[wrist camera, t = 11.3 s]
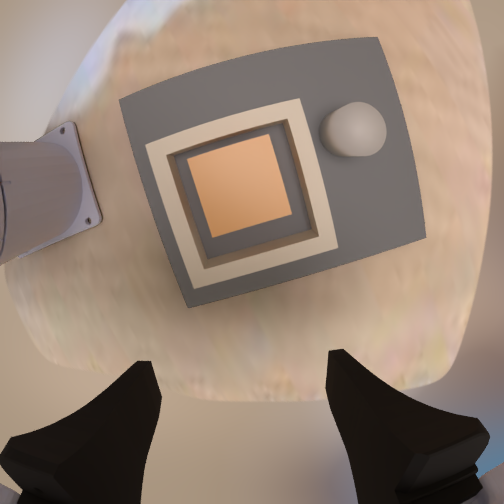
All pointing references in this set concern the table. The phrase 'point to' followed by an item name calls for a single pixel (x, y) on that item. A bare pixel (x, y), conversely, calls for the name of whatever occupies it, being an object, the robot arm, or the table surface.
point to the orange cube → (240, 185)
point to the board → (281, 163)
